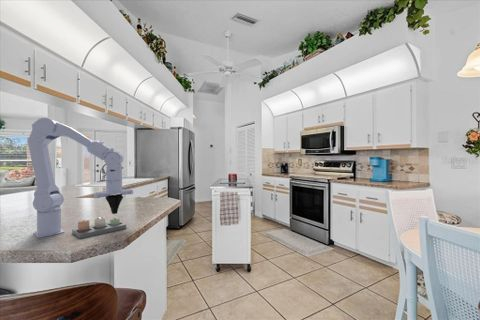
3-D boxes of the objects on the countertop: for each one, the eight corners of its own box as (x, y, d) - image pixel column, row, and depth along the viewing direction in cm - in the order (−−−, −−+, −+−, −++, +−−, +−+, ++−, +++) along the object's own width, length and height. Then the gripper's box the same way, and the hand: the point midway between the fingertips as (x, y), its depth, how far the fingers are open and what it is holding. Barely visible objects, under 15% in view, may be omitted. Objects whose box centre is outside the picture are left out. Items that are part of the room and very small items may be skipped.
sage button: (108, 227, 95) (108, 218, 95) (117, 225, 98) (117, 216, 98) (111, 229, 93) (111, 219, 93) (121, 227, 95) (121, 218, 95)
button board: (72, 233, 88) (72, 229, 88) (116, 224, 100) (116, 220, 100) (80, 238, 82) (80, 234, 82) (126, 228, 94) (126, 224, 94)
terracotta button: (76, 230, 87) (76, 220, 87) (87, 228, 89) (87, 218, 89) (79, 232, 84) (79, 222, 84) (90, 229, 87) (90, 220, 87)
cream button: (93, 227, 91) (93, 217, 91) (103, 225, 93) (103, 216, 93) (96, 228, 88) (96, 219, 88) (106, 226, 91) (106, 217, 91)
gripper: (98, 182, 87) (98, 218, 87) (136, 179, 98) (136, 211, 98) (91, 181, 92) (91, 215, 92) (128, 179, 103) (128, 209, 103)
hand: (114, 213), depth 95 cm, fingers closed
